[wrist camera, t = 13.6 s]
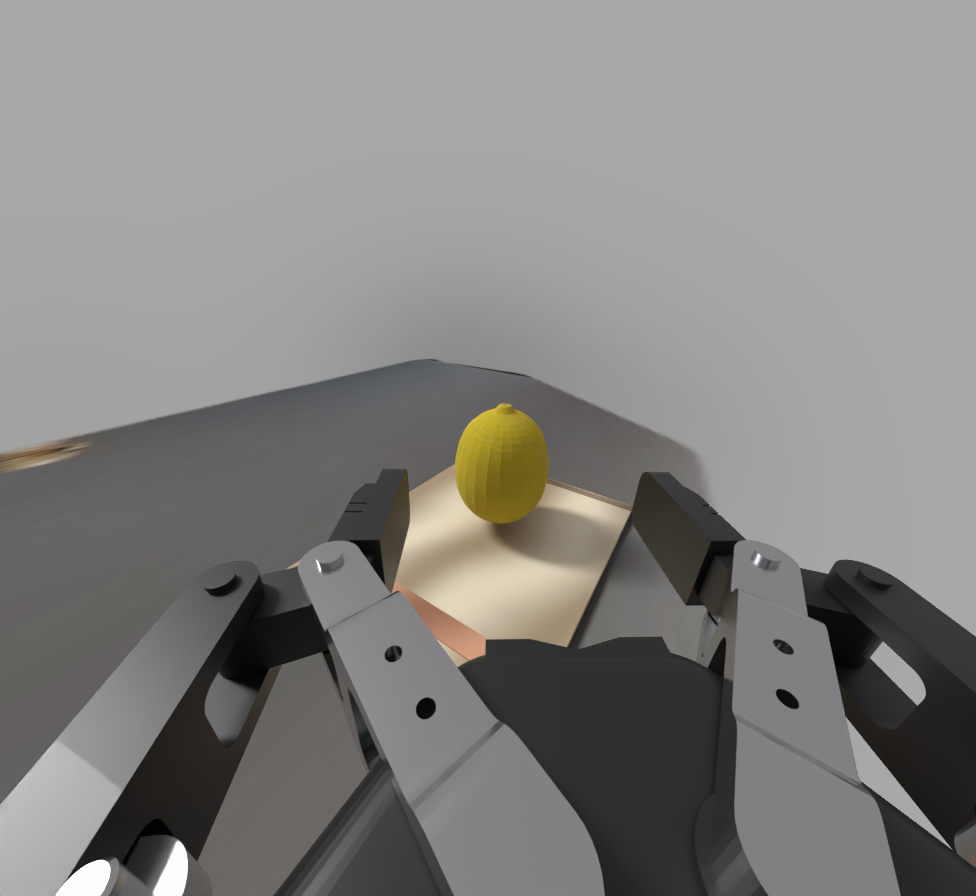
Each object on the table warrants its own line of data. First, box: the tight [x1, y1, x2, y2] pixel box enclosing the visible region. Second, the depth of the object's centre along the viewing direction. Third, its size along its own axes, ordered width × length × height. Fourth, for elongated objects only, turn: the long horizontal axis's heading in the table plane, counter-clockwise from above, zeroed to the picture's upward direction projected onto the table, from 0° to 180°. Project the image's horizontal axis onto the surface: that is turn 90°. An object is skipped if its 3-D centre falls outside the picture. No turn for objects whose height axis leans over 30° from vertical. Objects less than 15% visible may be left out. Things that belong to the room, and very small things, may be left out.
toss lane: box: [287, 464, 633, 667], centre depth 21 cm, size 14×18×1 cm
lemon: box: [455, 403, 549, 524], centre depth 21 cm, size 6×6×8 cm
